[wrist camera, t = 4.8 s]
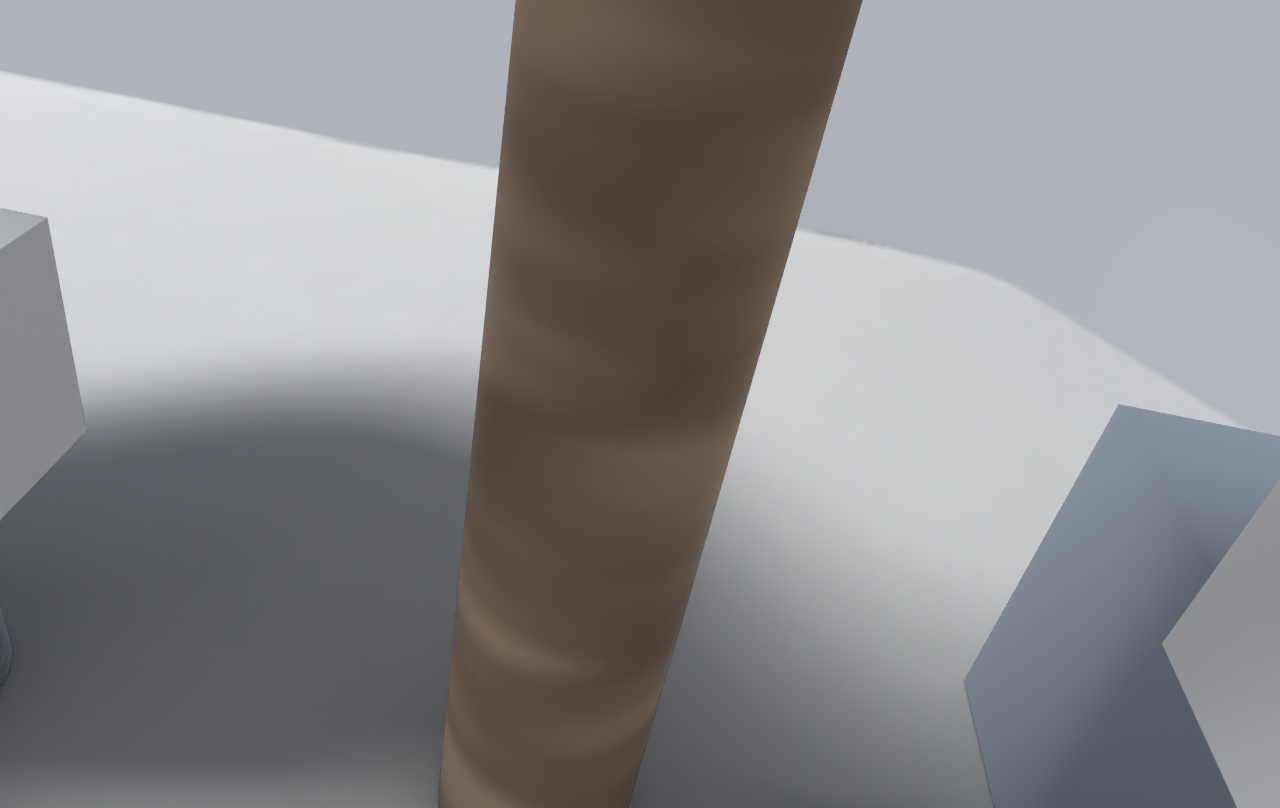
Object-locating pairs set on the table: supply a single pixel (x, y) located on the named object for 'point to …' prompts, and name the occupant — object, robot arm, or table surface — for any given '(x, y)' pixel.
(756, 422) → the table surface
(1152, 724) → the collar block
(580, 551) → the long walnut pin
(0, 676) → the short steel pin
